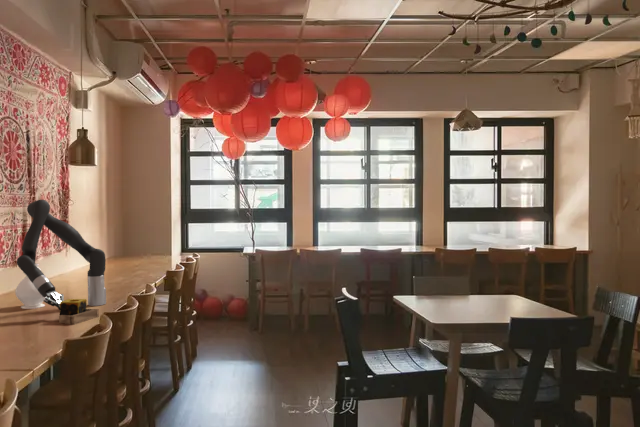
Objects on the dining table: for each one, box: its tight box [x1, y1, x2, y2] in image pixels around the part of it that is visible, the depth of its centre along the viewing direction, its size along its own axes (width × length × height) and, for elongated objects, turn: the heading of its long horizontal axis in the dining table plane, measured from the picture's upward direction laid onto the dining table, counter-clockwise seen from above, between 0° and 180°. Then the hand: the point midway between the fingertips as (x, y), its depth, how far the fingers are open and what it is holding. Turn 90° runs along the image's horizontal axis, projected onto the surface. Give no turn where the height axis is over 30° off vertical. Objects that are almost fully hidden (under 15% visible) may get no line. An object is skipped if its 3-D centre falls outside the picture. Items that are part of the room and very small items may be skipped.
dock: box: [58, 308, 100, 325], centre depth 294 cm, size 9×19×4 cm, turn 165°
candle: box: [58, 298, 88, 316], centre depth 295 cm, size 10×10×10 cm
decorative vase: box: [15, 262, 46, 310], centre depth 332 cm, size 18×18×25 cm
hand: (63, 310), depth 297 cm, fingers closed
